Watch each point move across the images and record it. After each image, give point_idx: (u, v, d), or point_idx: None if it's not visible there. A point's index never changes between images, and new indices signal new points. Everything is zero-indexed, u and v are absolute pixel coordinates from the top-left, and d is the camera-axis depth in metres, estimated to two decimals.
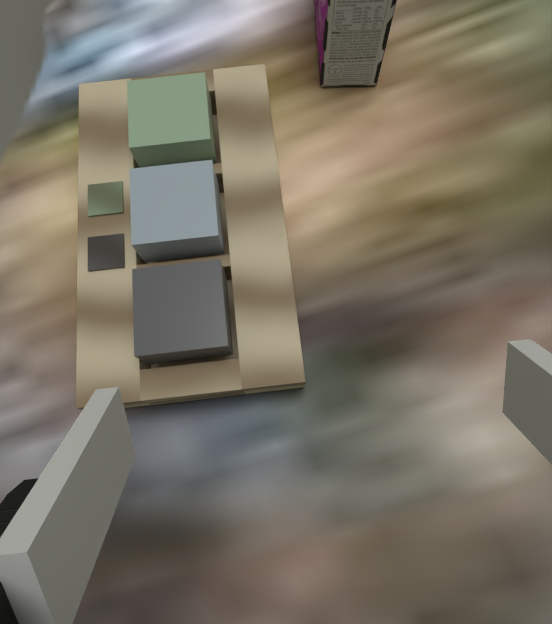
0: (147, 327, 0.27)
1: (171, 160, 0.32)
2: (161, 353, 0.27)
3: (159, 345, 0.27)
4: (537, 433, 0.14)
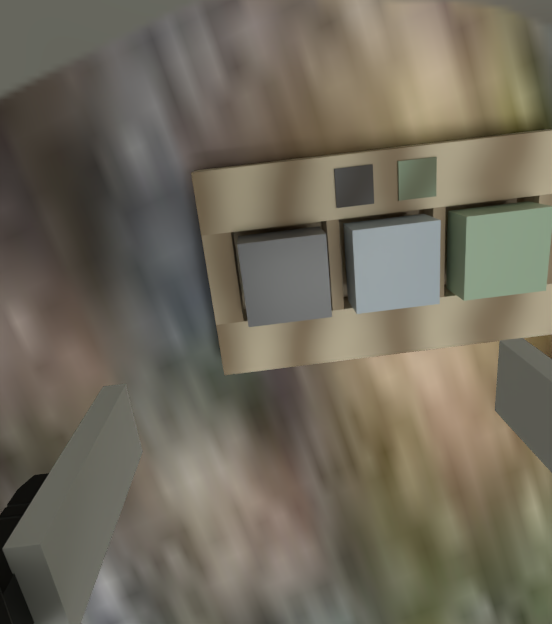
0: (265, 254, 0.28)
1: (452, 248, 0.30)
2: (240, 268, 0.28)
3: (248, 267, 0.28)
4: (528, 431, 0.14)
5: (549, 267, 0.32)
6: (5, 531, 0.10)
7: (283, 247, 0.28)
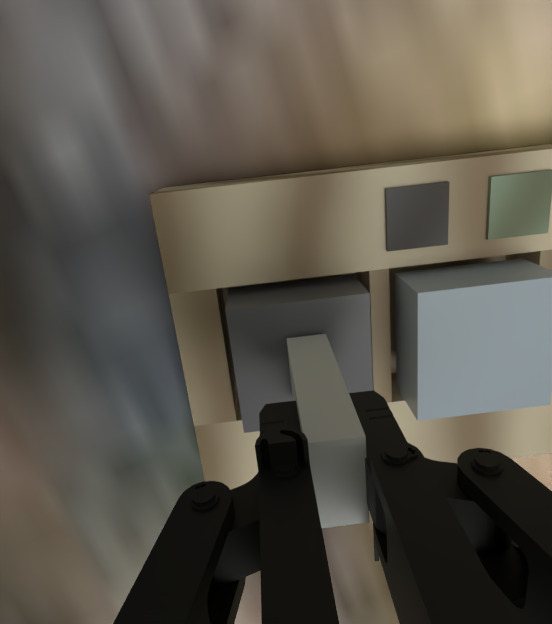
0: (271, 325, 0.17)
1: None
2: (231, 346, 0.18)
3: (243, 344, 0.18)
4: None
5: None
6: None
7: (300, 314, 0.17)
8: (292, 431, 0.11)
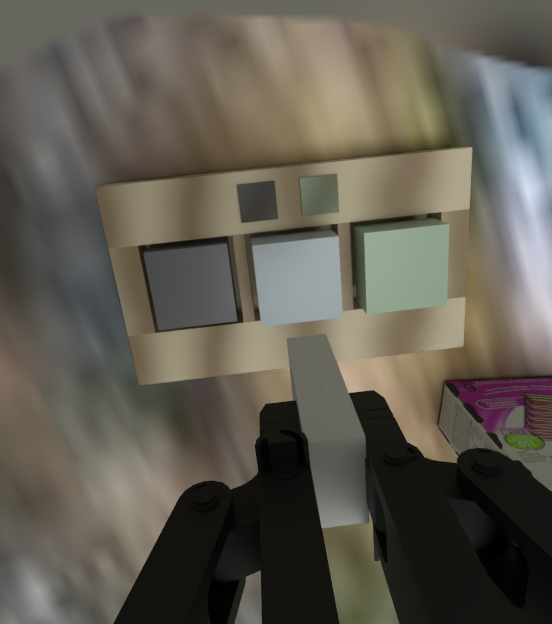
0: (170, 262, 0.30)
1: (358, 262, 0.31)
2: (148, 275, 0.30)
3: (154, 274, 0.30)
4: None
5: (455, 281, 0.32)
6: None
7: (187, 256, 0.30)
8: (292, 431, 0.11)
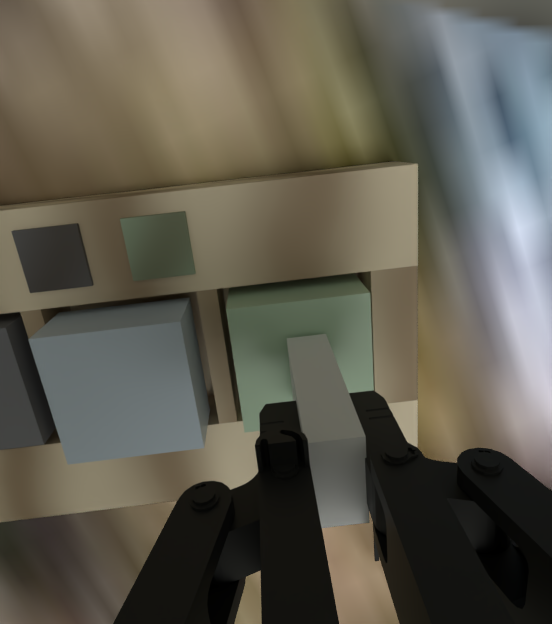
0: None
1: None
2: None
3: None
4: None
5: (400, 378, 0.20)
6: None
7: None
8: (292, 431, 0.11)
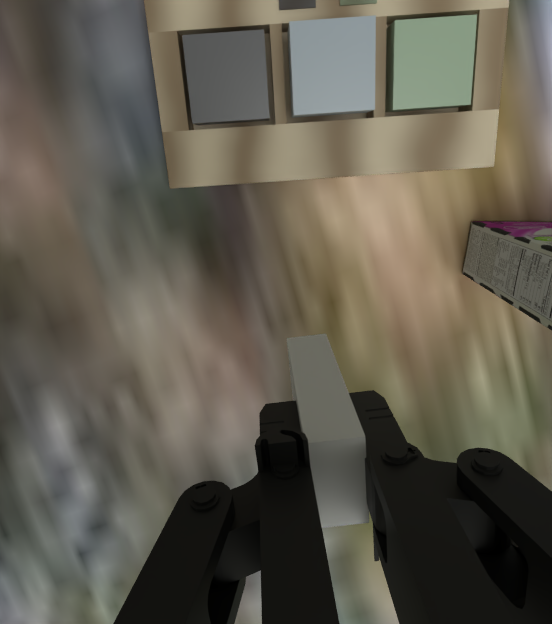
0: (208, 47, 0.30)
1: (387, 64, 0.33)
2: (185, 61, 0.31)
3: (191, 59, 0.31)
4: None
5: (489, 91, 0.32)
6: None
7: (224, 41, 0.30)
8: (292, 431, 0.11)
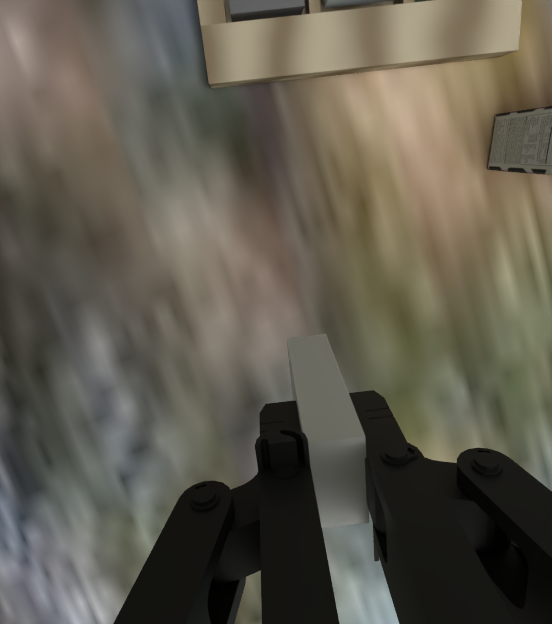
0: None
1: None
2: None
3: None
4: None
5: None
6: None
7: None
8: (292, 431, 0.11)
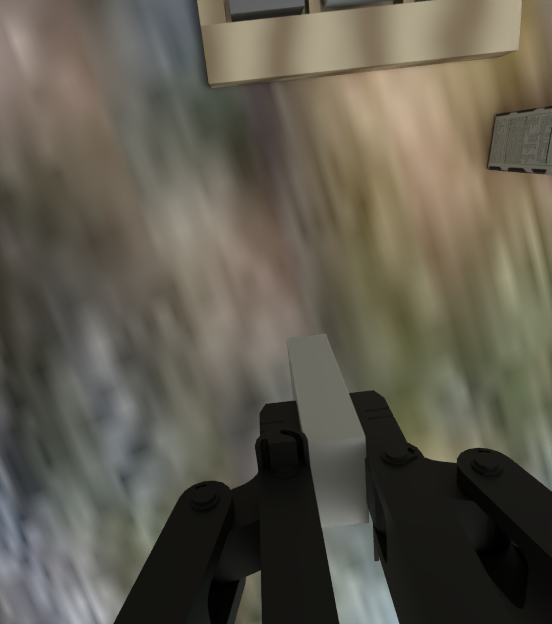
0: None
1: None
2: None
3: None
4: None
5: None
6: None
7: None
8: (292, 431, 0.11)
